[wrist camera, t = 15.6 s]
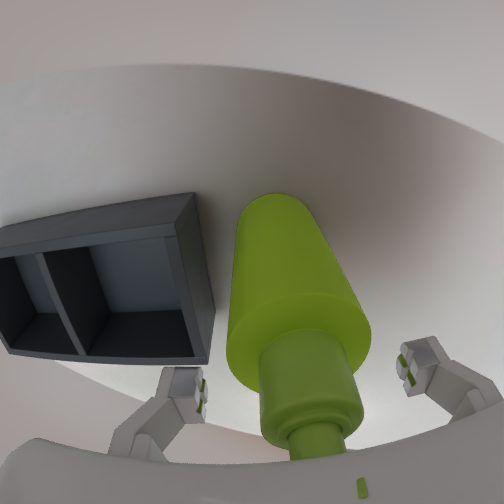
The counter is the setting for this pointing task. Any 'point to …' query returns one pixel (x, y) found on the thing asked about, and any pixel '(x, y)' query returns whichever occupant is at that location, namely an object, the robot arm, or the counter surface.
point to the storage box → (109, 285)
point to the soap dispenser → (295, 330)
